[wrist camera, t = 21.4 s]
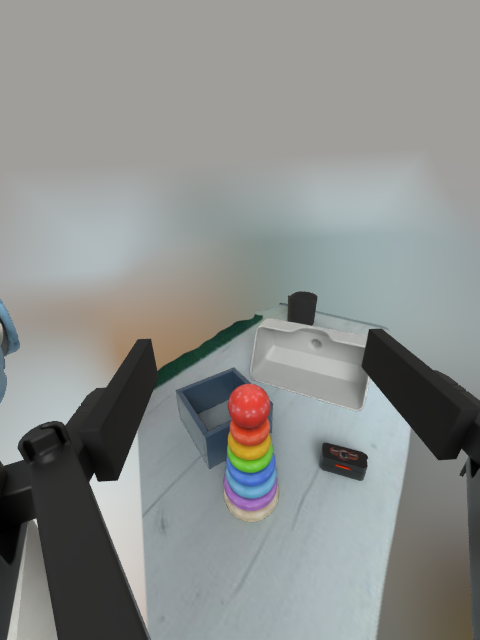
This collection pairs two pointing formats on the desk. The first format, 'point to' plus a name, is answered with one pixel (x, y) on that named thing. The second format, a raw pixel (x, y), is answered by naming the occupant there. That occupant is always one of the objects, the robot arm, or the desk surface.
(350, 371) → the light grey open box
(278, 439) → the desk surface
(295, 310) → the pen holder
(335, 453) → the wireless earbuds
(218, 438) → the square holder
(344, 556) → the desk surface
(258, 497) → the stacking toy
